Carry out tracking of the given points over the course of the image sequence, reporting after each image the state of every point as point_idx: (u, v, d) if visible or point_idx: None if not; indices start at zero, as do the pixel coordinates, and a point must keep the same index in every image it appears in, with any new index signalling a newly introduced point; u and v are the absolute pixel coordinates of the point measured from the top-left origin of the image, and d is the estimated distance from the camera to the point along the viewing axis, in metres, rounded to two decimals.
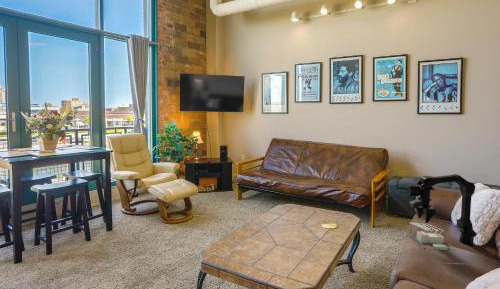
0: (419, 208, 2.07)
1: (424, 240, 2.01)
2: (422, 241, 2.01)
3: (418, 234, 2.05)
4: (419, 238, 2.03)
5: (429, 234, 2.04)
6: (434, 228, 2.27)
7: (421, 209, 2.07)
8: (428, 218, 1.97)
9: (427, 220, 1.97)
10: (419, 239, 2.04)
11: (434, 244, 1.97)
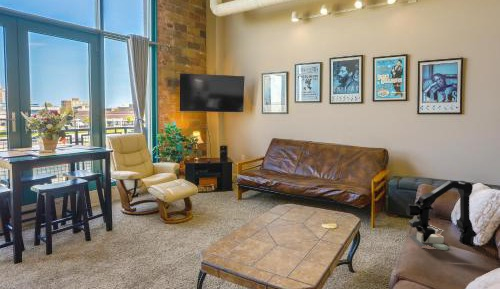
0: (419, 227, 2.07)
1: None
2: (422, 241, 2.01)
3: (418, 234, 2.05)
4: (419, 238, 2.03)
5: None
6: (434, 228, 2.27)
7: (421, 229, 2.07)
8: (426, 237, 1.99)
9: (425, 239, 2.00)
10: (419, 239, 2.04)
11: (434, 244, 1.97)
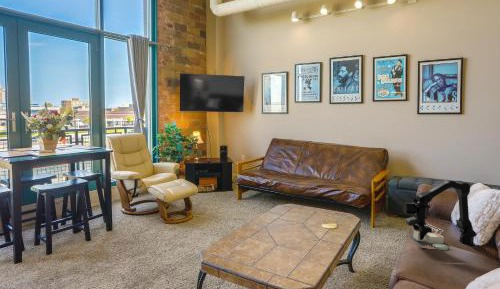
0: (416, 226, 2.07)
1: None
2: (419, 239, 2.01)
3: (415, 232, 2.04)
4: (416, 236, 2.03)
5: (429, 234, 2.04)
6: (434, 228, 2.27)
7: (418, 227, 2.07)
8: (422, 235, 1.99)
9: (421, 237, 2.00)
10: (415, 237, 2.04)
11: (434, 244, 1.97)
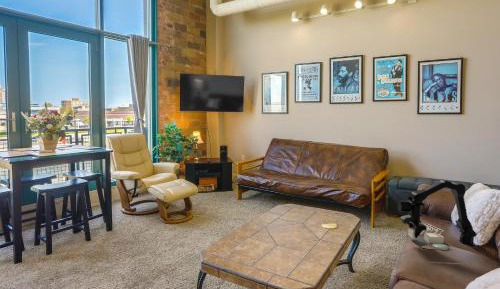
0: (411, 224, 2.07)
1: None
2: (414, 237, 2.01)
3: (410, 230, 2.05)
4: (411, 234, 2.03)
5: (429, 234, 2.04)
6: (434, 228, 2.27)
7: (413, 225, 2.07)
8: (417, 233, 1.99)
9: (416, 235, 2.00)
10: (410, 235, 2.04)
11: (434, 244, 1.97)
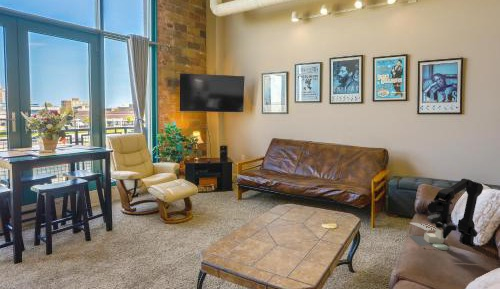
0: (438, 224, 1.97)
1: None
2: (442, 238, 1.91)
3: (437, 230, 1.95)
4: (438, 235, 1.93)
5: (429, 234, 2.04)
6: (434, 228, 2.27)
7: (440, 225, 1.97)
8: (446, 233, 1.89)
9: (445, 235, 1.90)
10: (438, 236, 1.94)
11: (434, 244, 1.97)
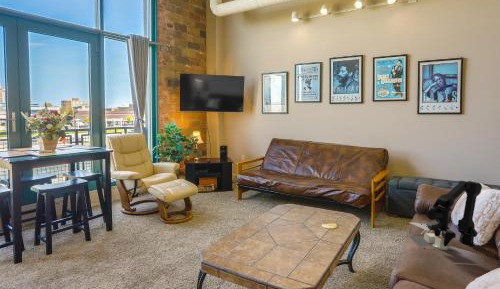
0: (436, 229, 1.99)
1: (443, 245, 1.92)
2: (441, 246, 1.92)
3: (436, 239, 1.95)
4: (438, 243, 1.94)
5: (429, 234, 2.04)
6: None
7: (438, 230, 1.99)
8: (447, 241, 1.88)
9: (446, 243, 1.89)
10: (437, 244, 1.94)
11: (434, 244, 1.97)
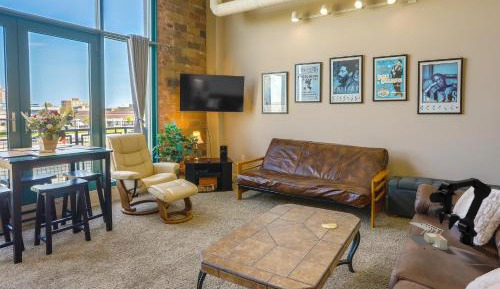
0: (440, 214, 2.03)
1: (443, 245, 1.92)
2: (441, 246, 1.92)
3: (436, 239, 1.95)
4: (438, 243, 1.94)
5: (429, 234, 2.04)
6: (434, 228, 2.27)
7: (442, 215, 2.03)
8: (451, 224, 1.93)
9: (450, 226, 1.93)
10: (437, 244, 1.94)
11: (434, 244, 1.97)
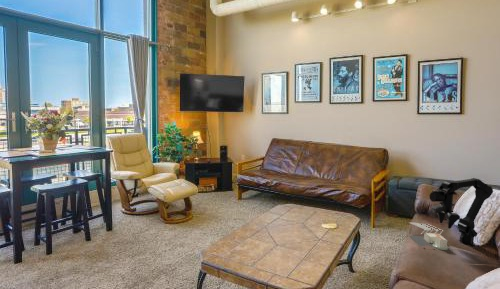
0: (441, 213, 2.04)
1: (443, 245, 1.92)
2: (441, 246, 1.92)
3: (436, 239, 1.95)
4: (438, 243, 1.94)
5: (429, 234, 2.04)
6: (434, 228, 2.27)
7: (443, 214, 2.04)
8: (451, 223, 1.93)
9: (450, 225, 1.94)
10: (437, 244, 1.94)
11: (434, 244, 1.97)
